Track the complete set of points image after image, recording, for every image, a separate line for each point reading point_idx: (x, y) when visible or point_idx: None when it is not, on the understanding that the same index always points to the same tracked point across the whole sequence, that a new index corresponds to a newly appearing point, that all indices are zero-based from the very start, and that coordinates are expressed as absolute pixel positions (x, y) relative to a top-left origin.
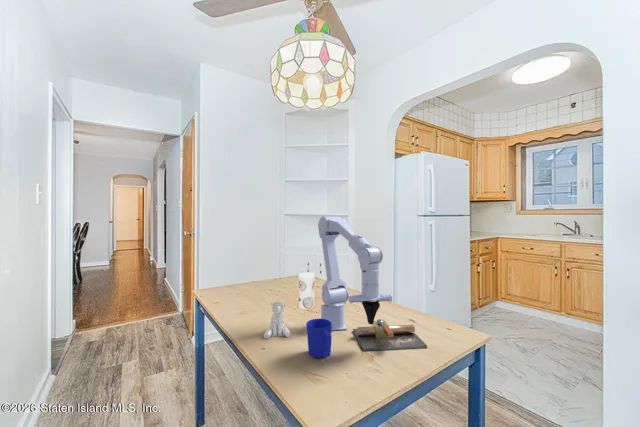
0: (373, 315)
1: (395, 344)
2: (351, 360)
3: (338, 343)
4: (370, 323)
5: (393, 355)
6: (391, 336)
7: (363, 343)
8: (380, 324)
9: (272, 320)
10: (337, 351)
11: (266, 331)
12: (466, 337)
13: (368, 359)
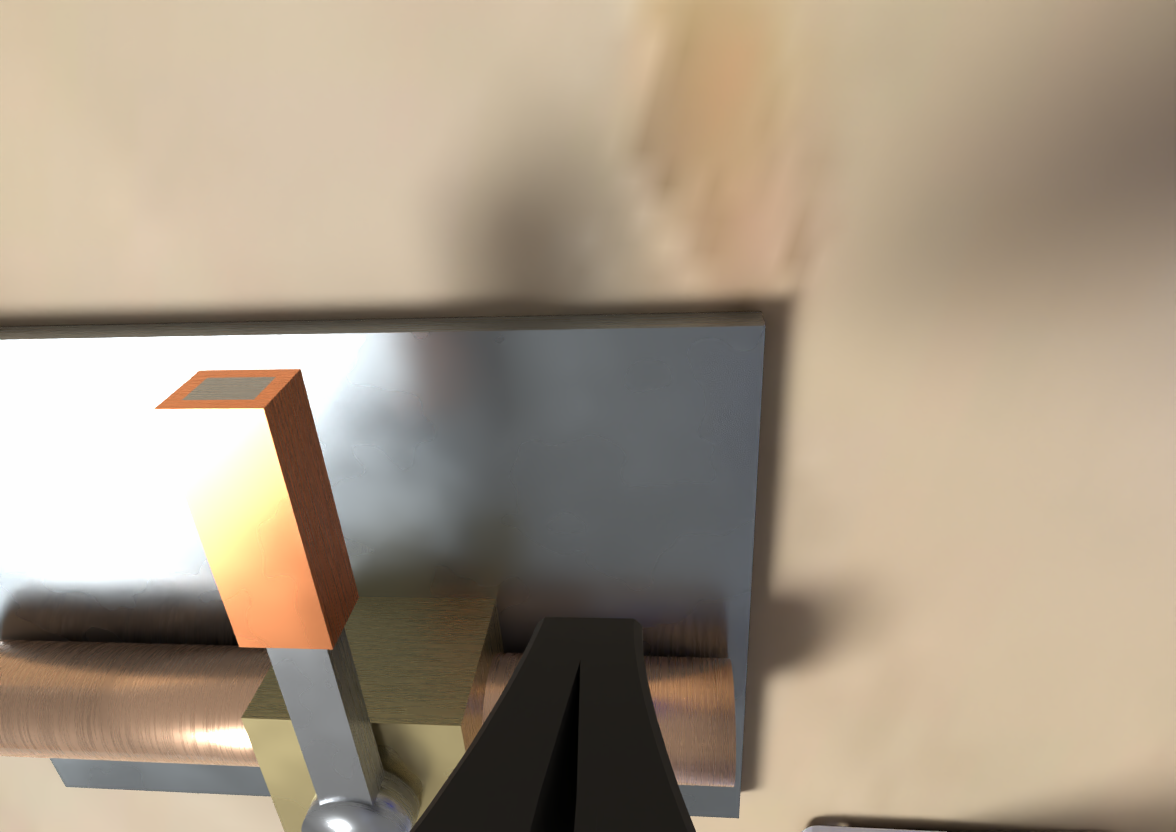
0: (493, 803)
1: None
2: (1066, 21)
3: (1048, 550)
4: (609, 629)
5: (324, 148)
6: (230, 375)
7: (711, 474)
8: (372, 758)
9: None
10: (1171, 337)
11: None
12: None
13: (755, 40)
